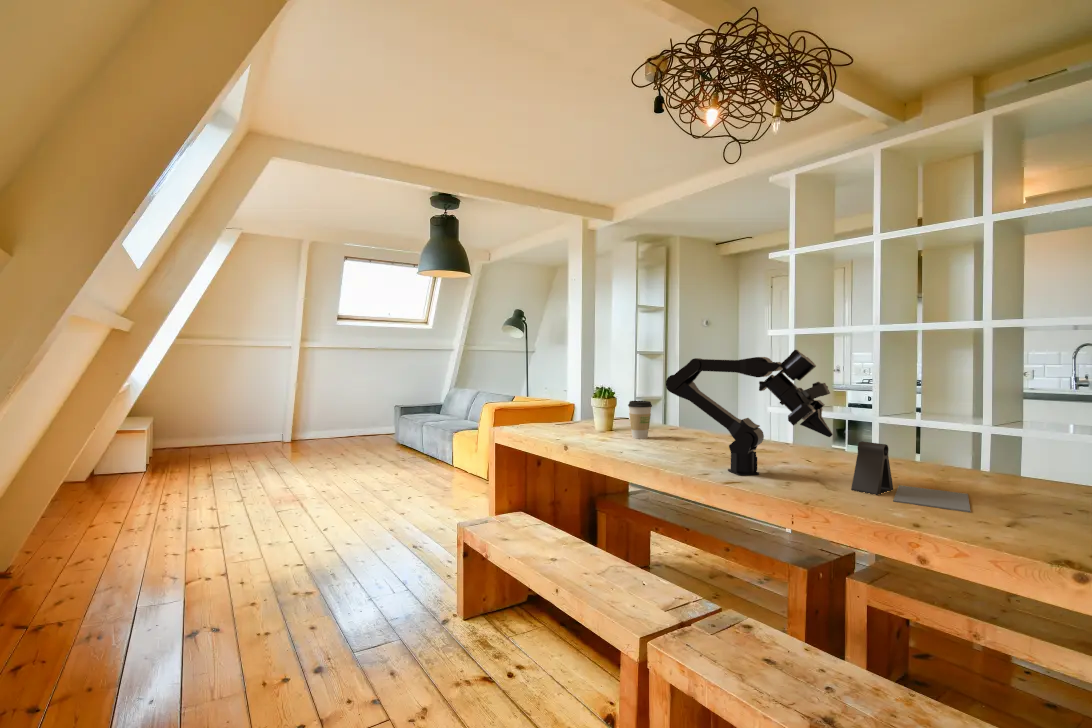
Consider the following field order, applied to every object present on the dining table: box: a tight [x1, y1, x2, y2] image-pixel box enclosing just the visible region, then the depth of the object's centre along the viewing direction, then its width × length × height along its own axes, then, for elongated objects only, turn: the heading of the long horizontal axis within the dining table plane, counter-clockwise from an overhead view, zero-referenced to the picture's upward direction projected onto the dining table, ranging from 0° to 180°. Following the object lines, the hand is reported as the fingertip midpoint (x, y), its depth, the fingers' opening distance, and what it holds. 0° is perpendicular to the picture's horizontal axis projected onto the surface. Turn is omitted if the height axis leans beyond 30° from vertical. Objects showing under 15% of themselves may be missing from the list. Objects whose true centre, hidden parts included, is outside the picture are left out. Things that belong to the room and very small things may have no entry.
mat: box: [893, 484, 971, 513], centre depth 126 cm, size 14×18×1 cm
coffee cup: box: [627, 400, 653, 440], centre depth 217 cm, size 10×10×15 cm
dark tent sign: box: [851, 441, 894, 496], centre depth 133 cm, size 9×6×12 cm, turn 124°
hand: (831, 436), depth 138 cm, fingers closed
